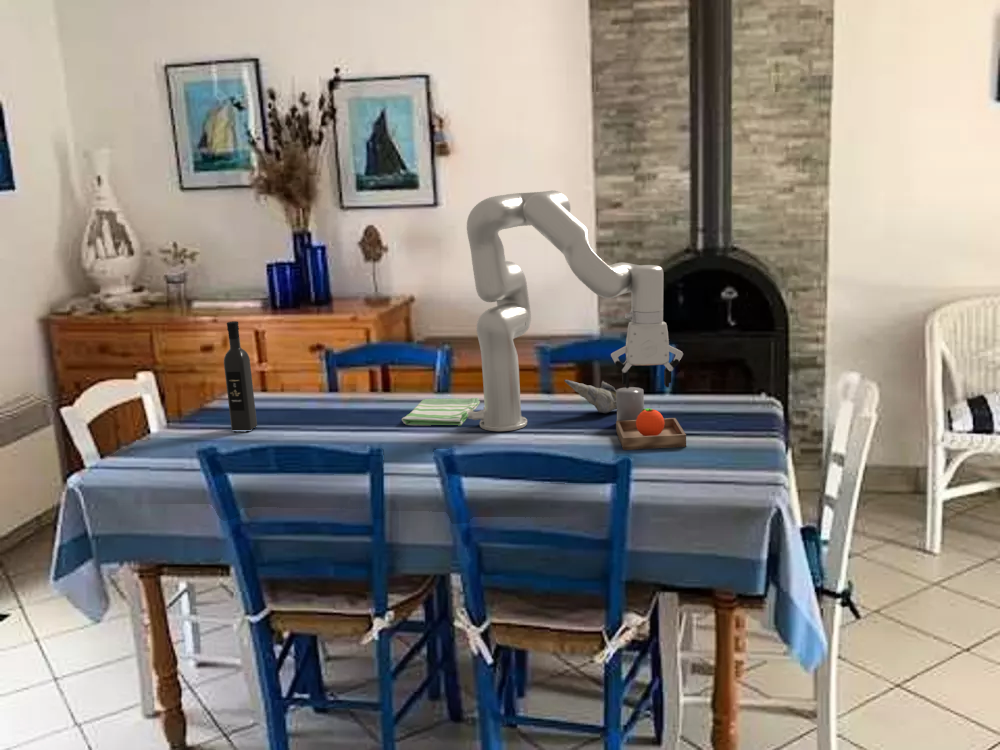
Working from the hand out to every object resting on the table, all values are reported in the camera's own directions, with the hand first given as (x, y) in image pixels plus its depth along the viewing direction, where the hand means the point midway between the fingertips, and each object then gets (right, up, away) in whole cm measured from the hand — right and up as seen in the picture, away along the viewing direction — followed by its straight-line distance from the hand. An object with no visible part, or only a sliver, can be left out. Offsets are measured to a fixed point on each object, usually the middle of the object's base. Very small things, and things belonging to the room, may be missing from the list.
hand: (646, 386), depth 250 cm
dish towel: (-52, -9, +37) cm, 64 cm away
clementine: (+1, -12, +3) cm, 13 cm away
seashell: (-9, -7, +30) cm, 33 cm away
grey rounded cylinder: (-2, -10, +17) cm, 20 cm away
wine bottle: (-106, -12, +32) cm, 111 cm away
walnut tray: (+1, -13, +3) cm, 13 cm away
